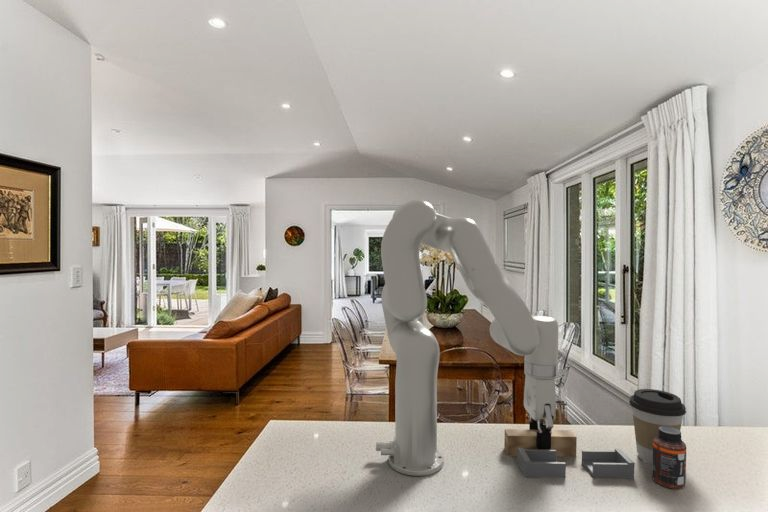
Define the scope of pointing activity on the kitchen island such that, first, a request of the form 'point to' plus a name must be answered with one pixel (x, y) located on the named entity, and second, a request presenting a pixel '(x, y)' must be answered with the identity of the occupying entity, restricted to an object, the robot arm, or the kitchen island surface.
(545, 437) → the robot arm
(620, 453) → the cap
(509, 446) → the light wood rectangular block
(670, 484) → the supplement bottle
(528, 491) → the kitchen island surface
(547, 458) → the cap
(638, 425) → the coffee cup
